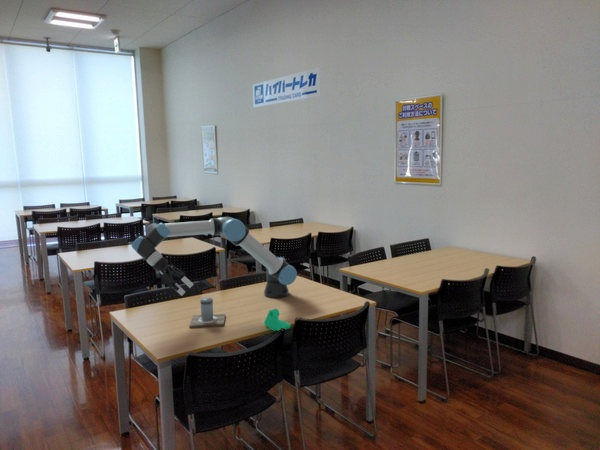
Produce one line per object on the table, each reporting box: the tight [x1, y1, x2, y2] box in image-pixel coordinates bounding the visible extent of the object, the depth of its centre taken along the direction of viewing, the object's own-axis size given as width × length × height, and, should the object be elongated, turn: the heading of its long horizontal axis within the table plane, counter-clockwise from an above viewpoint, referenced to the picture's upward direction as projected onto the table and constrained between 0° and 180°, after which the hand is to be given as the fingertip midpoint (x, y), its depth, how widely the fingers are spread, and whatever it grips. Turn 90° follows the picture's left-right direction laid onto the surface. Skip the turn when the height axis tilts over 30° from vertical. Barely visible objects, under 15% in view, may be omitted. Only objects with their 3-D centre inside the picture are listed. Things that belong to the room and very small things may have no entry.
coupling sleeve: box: [200, 296, 214, 322], centre depth 237 cm, size 6×6×11 cm
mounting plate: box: [188, 313, 226, 329], centre depth 238 cm, size 15×17×1 cm
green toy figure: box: [263, 308, 292, 332], centre depth 228 cm, size 12×8×10 cm, turn 42°
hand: (187, 290), depth 236 cm, fingers open, 13 cm apart
